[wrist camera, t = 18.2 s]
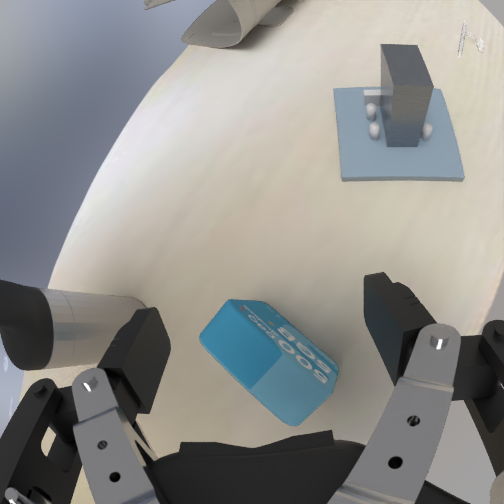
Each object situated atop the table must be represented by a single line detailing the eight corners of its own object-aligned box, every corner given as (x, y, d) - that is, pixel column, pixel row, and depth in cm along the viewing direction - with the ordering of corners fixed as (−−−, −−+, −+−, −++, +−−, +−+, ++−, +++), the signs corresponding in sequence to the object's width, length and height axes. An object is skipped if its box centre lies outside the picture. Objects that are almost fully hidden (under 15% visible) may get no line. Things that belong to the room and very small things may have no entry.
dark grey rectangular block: (386, 147, 33) (393, 85, 22) (380, 108, 34) (380, 44, 23) (417, 147, 31) (433, 86, 20) (408, 109, 32) (417, 45, 21)
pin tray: (342, 181, 35) (340, 168, 32) (334, 93, 38) (331, 77, 34) (462, 181, 30) (470, 169, 27) (439, 93, 32) (443, 78, 29)
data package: (340, 366, 32) (333, 396, 21) (314, 393, 32) (294, 432, 21) (264, 300, 36) (222, 297, 25) (241, 328, 36) (191, 336, 25)
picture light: (463, 21, 32) (464, 14, 30) (483, 31, 30) (485, 23, 28) (456, 58, 32) (458, 50, 30) (479, 70, 31) (482, 62, 29)
